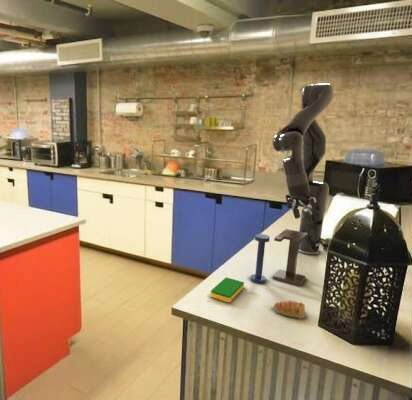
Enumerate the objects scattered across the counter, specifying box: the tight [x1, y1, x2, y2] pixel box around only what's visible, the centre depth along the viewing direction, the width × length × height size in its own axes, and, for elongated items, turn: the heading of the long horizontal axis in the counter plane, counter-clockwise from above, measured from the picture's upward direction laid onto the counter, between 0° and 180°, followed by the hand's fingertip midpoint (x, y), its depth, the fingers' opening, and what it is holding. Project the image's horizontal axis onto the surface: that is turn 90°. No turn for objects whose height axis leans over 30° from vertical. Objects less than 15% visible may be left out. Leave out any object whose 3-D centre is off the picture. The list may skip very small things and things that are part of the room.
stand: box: [272, 228, 308, 287], centre depth 140 cm, size 15×10×19 cm, turn 141°
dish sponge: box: [210, 277, 245, 303], centre depth 134 cm, size 7×14×2 cm, turn 143°
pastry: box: [272, 300, 306, 320], centre depth 121 cm, size 9×7×4 cm
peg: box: [250, 233, 271, 284], centre depth 142 cm, size 6×6×18 cm
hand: (306, 219), depth 147 cm, fingers open, 8 cm apart
